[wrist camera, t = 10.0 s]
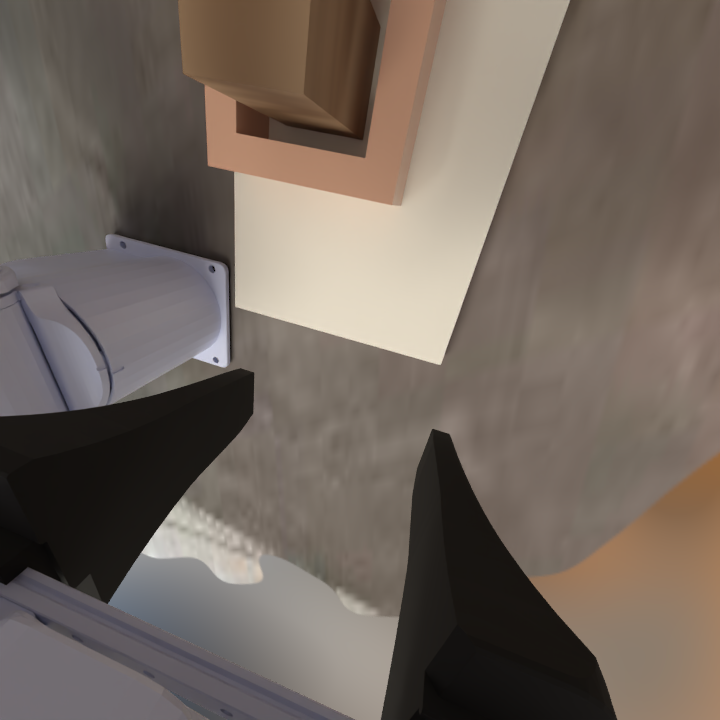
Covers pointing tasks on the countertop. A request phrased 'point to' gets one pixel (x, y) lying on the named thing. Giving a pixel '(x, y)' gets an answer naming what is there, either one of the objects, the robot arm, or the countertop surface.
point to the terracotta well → (387, 132)
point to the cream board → (420, 200)
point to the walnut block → (286, 58)
